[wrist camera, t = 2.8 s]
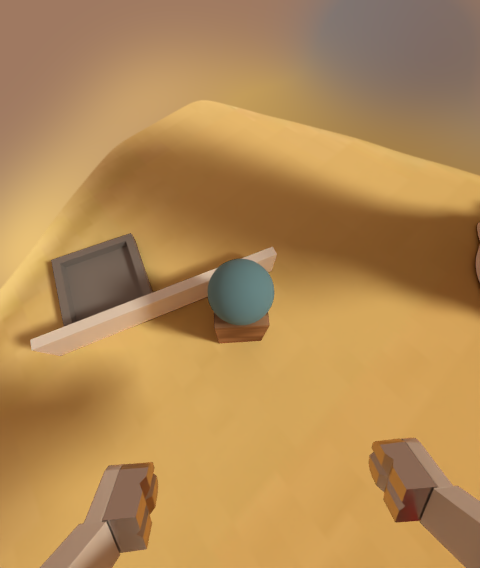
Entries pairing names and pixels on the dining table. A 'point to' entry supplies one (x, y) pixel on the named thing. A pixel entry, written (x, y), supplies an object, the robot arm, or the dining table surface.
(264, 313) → the ball
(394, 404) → the dining table surface
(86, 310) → the tray
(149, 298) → the wooden wall
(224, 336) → the stand
